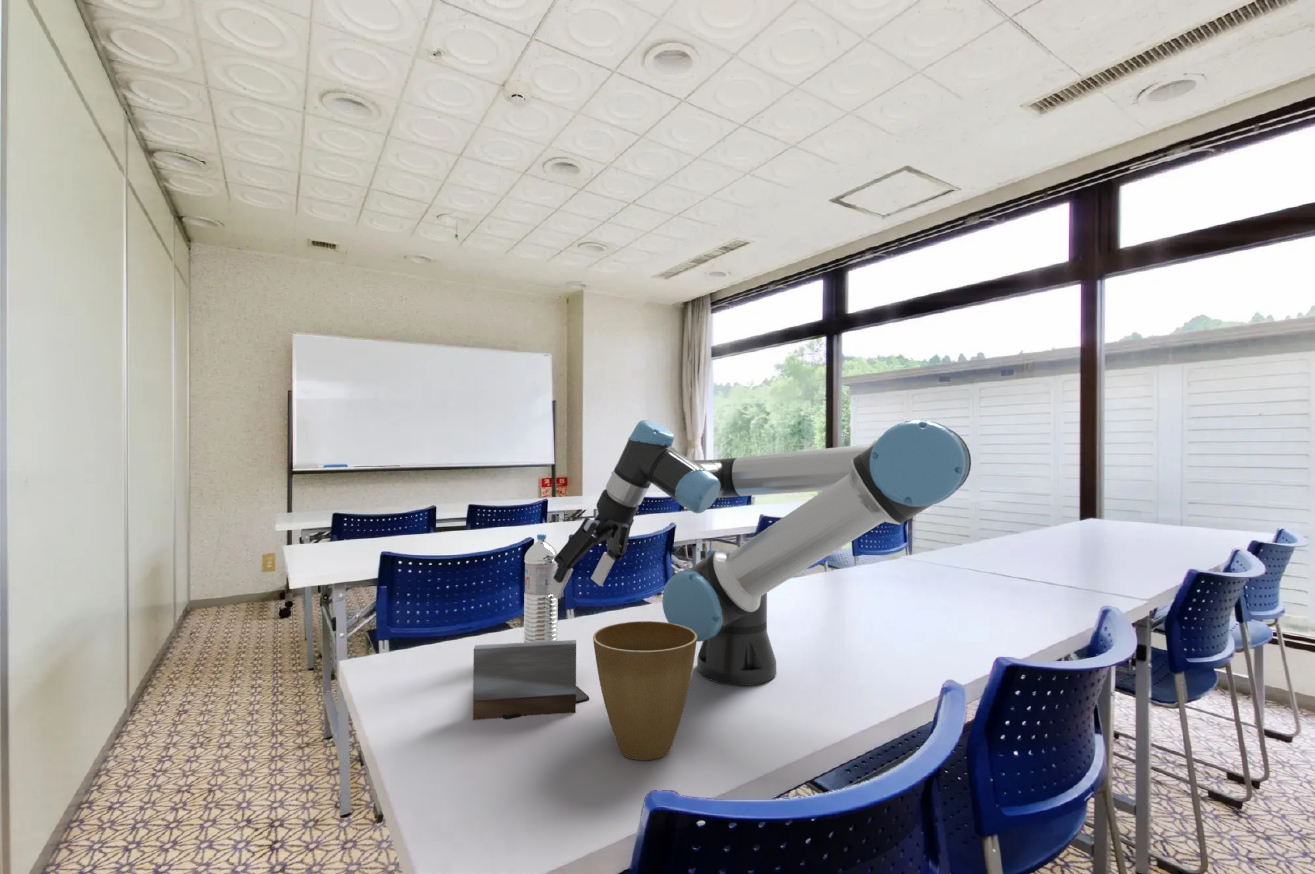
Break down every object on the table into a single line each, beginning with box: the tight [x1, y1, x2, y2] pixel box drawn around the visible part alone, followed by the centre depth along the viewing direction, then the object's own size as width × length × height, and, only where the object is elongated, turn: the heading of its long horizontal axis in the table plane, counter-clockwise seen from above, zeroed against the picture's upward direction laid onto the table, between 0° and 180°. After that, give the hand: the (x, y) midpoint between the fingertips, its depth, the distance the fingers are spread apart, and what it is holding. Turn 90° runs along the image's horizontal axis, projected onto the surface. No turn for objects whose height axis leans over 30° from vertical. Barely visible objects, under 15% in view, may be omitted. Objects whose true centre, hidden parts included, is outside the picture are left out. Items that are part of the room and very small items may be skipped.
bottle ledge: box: [472, 639, 577, 721], centre depth 100 cm, size 14×16×11 cm
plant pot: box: [592, 620, 697, 761], centre depth 84 cm, size 15×15×16 cm
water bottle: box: [523, 533, 559, 643], centre depth 121 cm, size 7×7×25 cm
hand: (575, 587), depth 116 cm, fingers open, 13 cm apart
